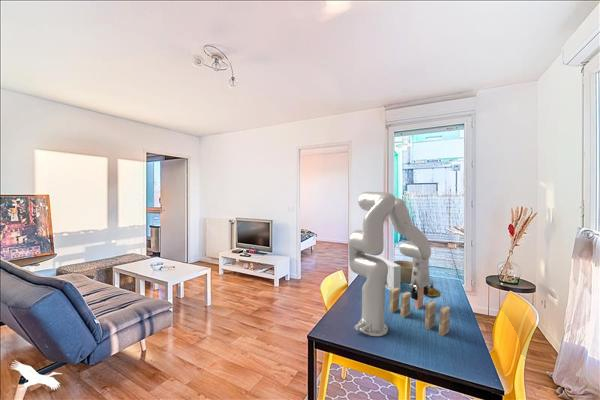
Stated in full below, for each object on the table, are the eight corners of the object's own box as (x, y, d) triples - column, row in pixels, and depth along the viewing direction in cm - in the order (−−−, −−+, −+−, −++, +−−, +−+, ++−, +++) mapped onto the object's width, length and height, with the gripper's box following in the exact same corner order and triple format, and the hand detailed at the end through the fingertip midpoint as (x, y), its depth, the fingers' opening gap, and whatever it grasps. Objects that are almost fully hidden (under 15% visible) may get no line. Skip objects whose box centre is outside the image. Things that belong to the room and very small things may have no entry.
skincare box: (372, 280, 171) (373, 256, 170) (379, 279, 172) (380, 255, 171) (393, 293, 151) (393, 266, 150) (400, 291, 152) (401, 265, 151)
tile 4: (448, 332, 111) (449, 307, 110) (443, 336, 108) (444, 310, 107) (444, 330, 112) (445, 305, 112) (438, 334, 109) (439, 309, 109)
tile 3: (434, 325, 116) (435, 302, 115) (428, 329, 113) (429, 305, 112) (430, 324, 117) (431, 300, 117) (424, 327, 114) (425, 303, 114)
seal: (440, 302, 142) (439, 291, 155) (441, 294, 142) (440, 284, 155) (421, 296, 146) (422, 287, 160) (422, 289, 146) (423, 279, 159)
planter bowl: (405, 286, 160) (406, 269, 159) (387, 277, 174) (387, 262, 174) (424, 282, 166) (425, 266, 166) (404, 274, 181) (405, 259, 180)
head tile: (398, 309, 130) (399, 288, 130) (392, 312, 127) (393, 291, 127) (395, 308, 132) (396, 287, 131) (389, 311, 129) (390, 289, 128)
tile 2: (423, 306, 134) (423, 285, 134) (417, 308, 132) (418, 287, 131) (419, 304, 136) (420, 284, 135) (414, 307, 133) (415, 286, 132)
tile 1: (409, 314, 125) (410, 292, 125) (403, 317, 123) (404, 295, 122) (406, 313, 127) (407, 291, 126) (400, 316, 124) (401, 294, 123)
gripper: (418, 269, 124) (417, 304, 126) (436, 262, 134) (435, 294, 136) (404, 265, 130) (403, 298, 132) (422, 259, 140) (421, 289, 142)
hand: (419, 296), depth 134 cm, fingers open, 9 cm apart
